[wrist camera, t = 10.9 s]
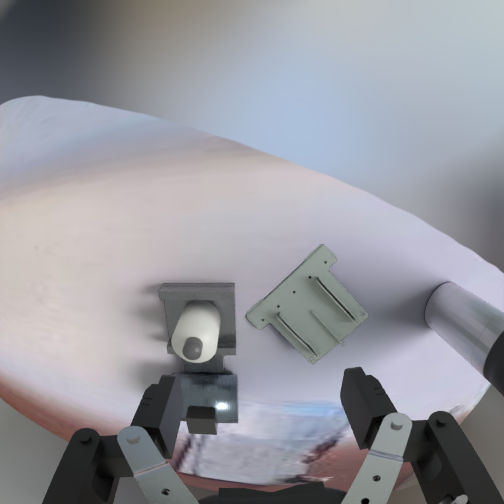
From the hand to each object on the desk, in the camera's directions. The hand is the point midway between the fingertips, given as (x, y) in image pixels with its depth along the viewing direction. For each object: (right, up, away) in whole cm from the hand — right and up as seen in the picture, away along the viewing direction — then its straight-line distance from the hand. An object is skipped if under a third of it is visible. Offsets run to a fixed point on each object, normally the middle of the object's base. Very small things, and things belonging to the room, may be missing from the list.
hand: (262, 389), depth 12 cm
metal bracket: (+8, -2, +29) cm, 30 cm away
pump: (-8, -3, +27) cm, 28 cm away
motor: (-8, -9, +29) cm, 32 cm away
